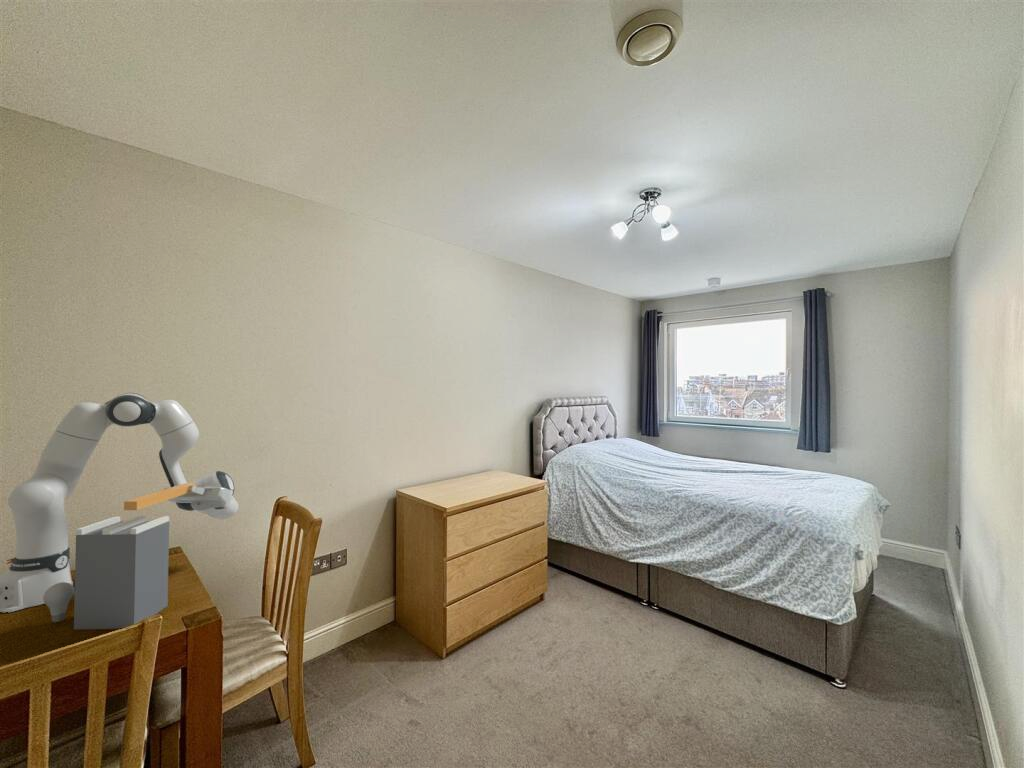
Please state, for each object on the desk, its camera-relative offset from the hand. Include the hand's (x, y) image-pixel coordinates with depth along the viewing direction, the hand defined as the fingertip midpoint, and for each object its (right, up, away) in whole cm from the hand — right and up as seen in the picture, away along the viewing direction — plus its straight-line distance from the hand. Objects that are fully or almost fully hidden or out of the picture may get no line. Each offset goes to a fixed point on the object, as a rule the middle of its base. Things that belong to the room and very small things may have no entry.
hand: (182, 488), depth 140 cm
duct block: (-3, -33, -18) cm, 38 cm away
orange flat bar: (0, -2, -8) cm, 8 cm away
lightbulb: (-19, -33, -21) cm, 44 cm away
